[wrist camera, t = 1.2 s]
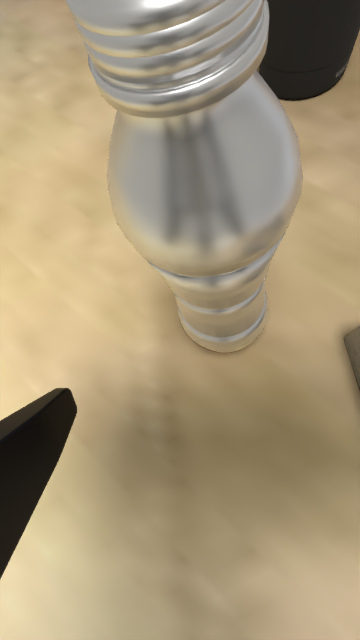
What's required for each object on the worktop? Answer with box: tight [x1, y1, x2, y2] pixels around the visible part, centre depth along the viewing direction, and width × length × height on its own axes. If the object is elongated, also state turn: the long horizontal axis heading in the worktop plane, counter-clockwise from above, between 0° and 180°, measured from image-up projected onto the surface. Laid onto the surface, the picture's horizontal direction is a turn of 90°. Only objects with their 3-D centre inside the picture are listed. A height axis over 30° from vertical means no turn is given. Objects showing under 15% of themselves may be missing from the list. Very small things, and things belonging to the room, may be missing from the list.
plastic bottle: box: [66, 0, 303, 352], centre depth 14 cm, size 6×7×20 cm
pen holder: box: [260, 0, 360, 100], centre depth 26 cm, size 9×9×10 cm
